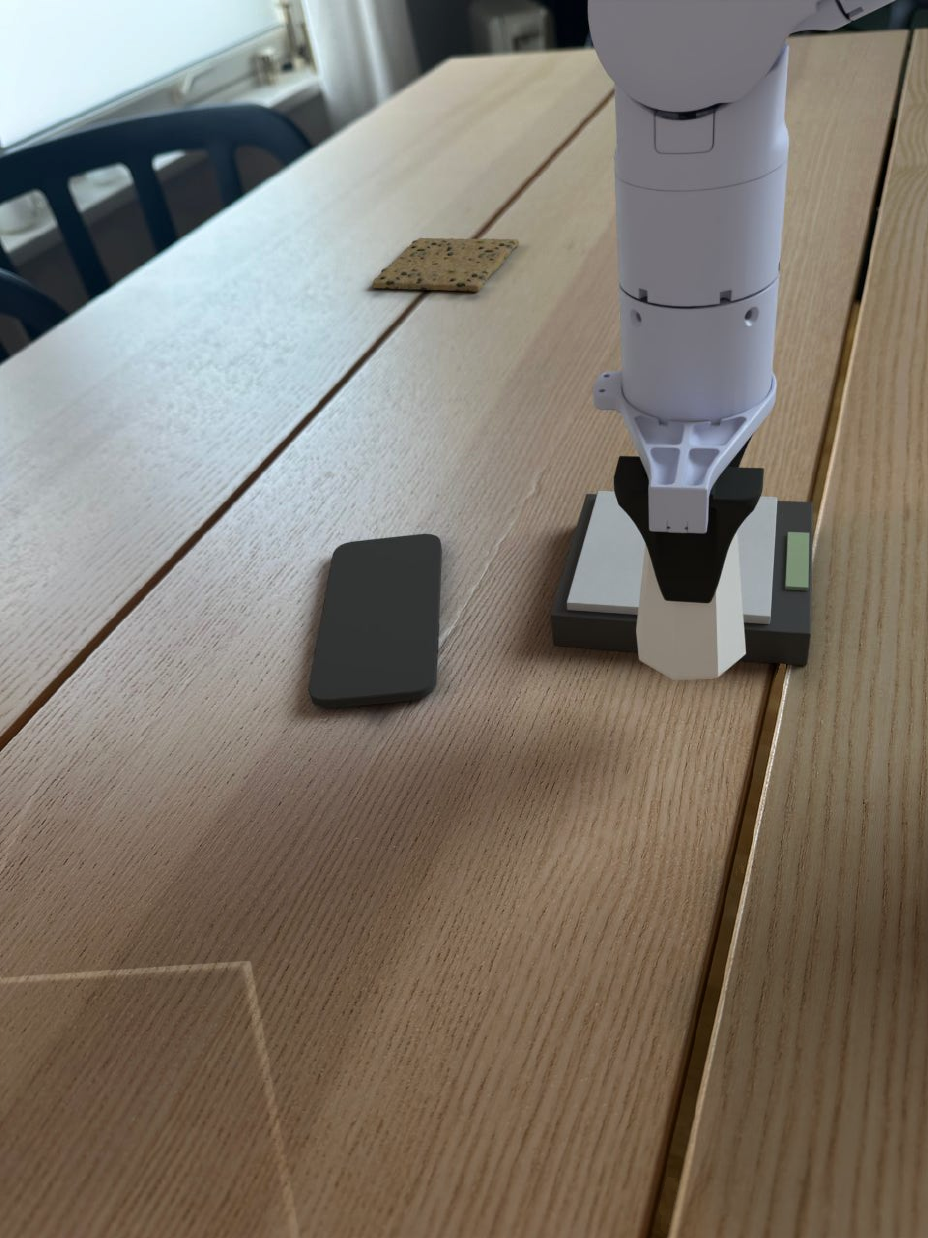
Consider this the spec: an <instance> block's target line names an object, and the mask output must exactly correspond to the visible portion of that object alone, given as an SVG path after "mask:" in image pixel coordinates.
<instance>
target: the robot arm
mask: <svg viewBox="0 0 928 1238" xmlns="http://www.w3.org/2000/svg"><path fill="white" fill-rule="evenodd" d="M895 1H896V0H587V20H588V27H589V33H590V38H591V41H592V45H593V48H594V50H595V53H596V56H597V58H598V60H599V62H600V64H601V66H602V67H603V69H604V71H605V72H606V74H607V75H608V77H609V78H610V80H612V82H613V83H614V85H613V87H614V113H615V114H614V115H615V142H616V145H615V146H616V147H615V148H614V154H613V167H614V168H613V170H614V196H615V197H614V200H615V224H616V225H615V226H616V227H615V228H616V251H617V252H616V254H617V273H618V274H617V278H618V279H617V280H618V296H619V297H618V298H619V299H618V301H619V327H620V329H619V330H620V356H621V357H620V358H621V359H620V360H621V370H610V371H609V370H608V371H604V372H602V373H599V374H598V376H596V379H595V382H594V385H593V389H592V402H593V407H594V408H595V409H597V410H600V411H615V412H617V413H619V414H620V416H621V418H622V420H623V422H624V425H625V428H626V430H627V431H628V434H629V436H630V438H631V441H632V444H633V445H634V448H635V450H636V452H637V455H619V456H618V458H617V463H616V467H615V470H614V475H613V491H614V493H615V496H616V499H617V502H618V505H619V506H620V507H621V508H622V509H623V510H624V511H625V512H626V513H627V514H628V516H629V517H630V518H631V519H632V521H633V522H634V523H635V525H636V527H637V528H638V530H639V532H640V533H641V535H642V537H643V539H644V541H645V544H646V546H647V549H648V552H649V555H650V559H651V562H652V565H653V569H654V572H655V576H656V579H657V582H658V585H659V588H660V591H661V593H662V595H663V598H664V599H665V600H666V601H676V602H692V603H710V602H711V601H712V599H713V597H714V595H715V592H716V590H717V587H718V584H719V581H720V577H721V574H722V570H723V566H724V563H725V559H726V556H727V552H728V549H729V547H730V544H731V542H732V539H733V537H734V535H735V534H736V532H737V530H738V529H739V527H740V526H741V524H742V523H743V522H744V520H745V519H746V518H747V517H748V516H749V515H750V514H751V513H752V512H753V511H754V509H755V507H756V505H757V503H758V501H759V499H760V497H762V494H763V489H764V477H765V476H764V475H765V473H764V472H765V468H763V467H740V465H741V462H742V460H743V457H744V455H745V453H746V451H747V448H748V446H749V444H750V443H751V440H752V438H753V436H754V434H755V433H756V431H757V430H758V428H759V427H760V426H761V425H762V424H763V422H764V421H765V420H766V419H767V417H768V416H769V415H770V414H771V412H772V411H773V409H774V406H775V403H776V399H777V388H778V387H777V386H778V385H777V377H776V375H775V373H774V371H773V368H774V367H773V366H774V354H775V353H774V352H775V340H776V339H775V338H776V325H777V313H778V312H777V311H778V300H779V286H780V272H781V271H780V270H781V269H780V268H781V258H782V257H781V255H782V244H783V243H782V241H783V227H784V214H785V202H786V188H787V187H786V186H787V176H788V175H787V173H788V160H789V149H790V138H789V137H790V136H789V131H788V128H787V124H786V121H785V114H786V113H785V111H786V98H787V97H786V96H787V84H788V83H787V82H788V67H789V53H790V46H789V44H788V43H786V42H787V39H788V38H789V36H790V34H793V33H797V32H800V31H809V30H812V31H813V30H815V31H834V30H837V29H840V28H842V27H844V26H845V25H847V24H850V23H851V22H852V21H857V20H858V19H860V18H862V17H865V16H866V15H869V14H870V13H872V12H874V11H876V10H879V9H881V8H883V7H885V6H887V5H889V4H892V3H893V2H895Z"/></svg>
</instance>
